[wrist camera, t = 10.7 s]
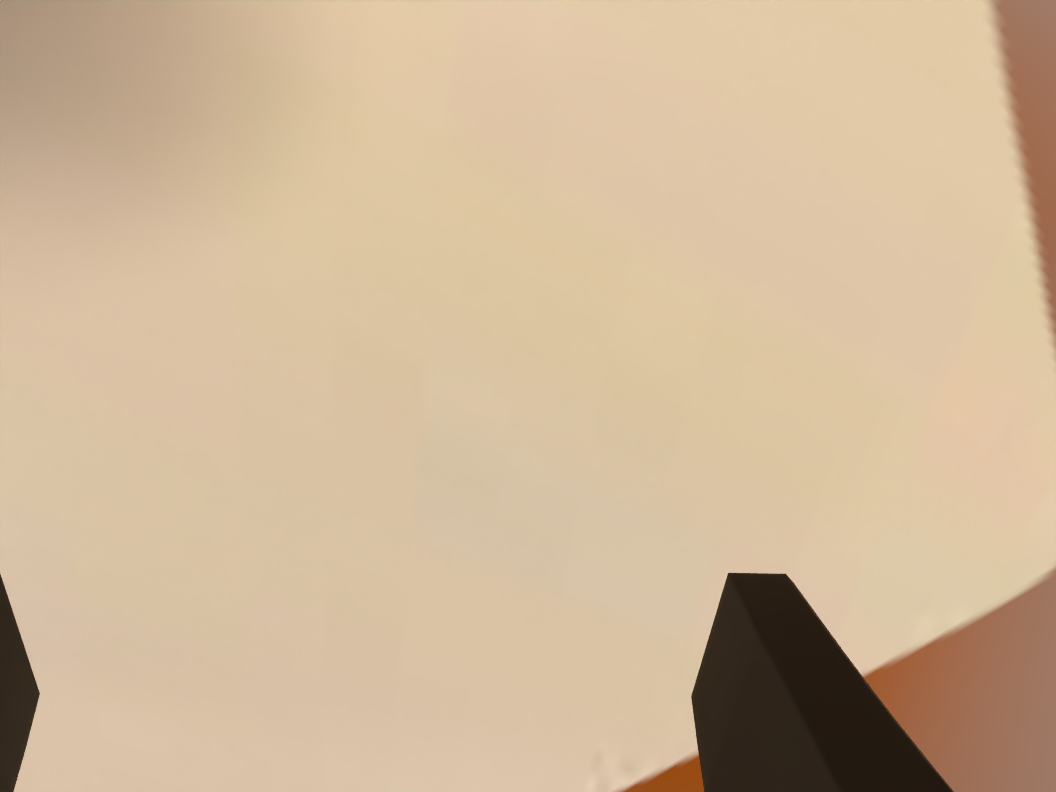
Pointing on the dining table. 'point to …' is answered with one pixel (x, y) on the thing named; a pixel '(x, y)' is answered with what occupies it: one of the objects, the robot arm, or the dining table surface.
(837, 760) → the robot arm
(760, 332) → the dining table surface
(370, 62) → the dining table surface
